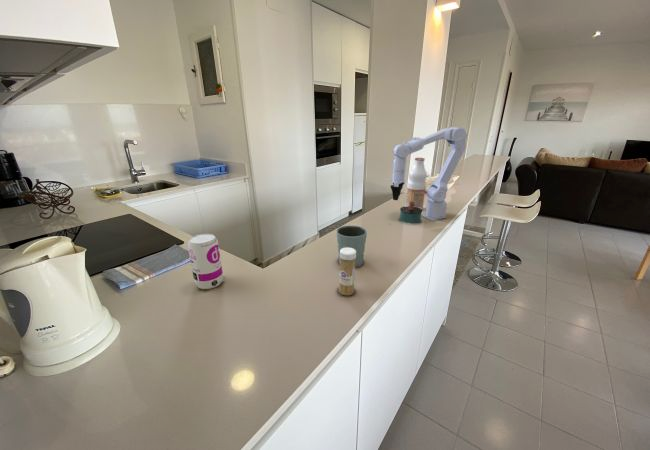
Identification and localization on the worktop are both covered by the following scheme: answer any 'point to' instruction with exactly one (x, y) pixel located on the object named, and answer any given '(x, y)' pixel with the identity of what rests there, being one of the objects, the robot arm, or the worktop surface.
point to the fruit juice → (416, 184)
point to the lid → (411, 209)
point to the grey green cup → (352, 241)
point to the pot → (410, 217)
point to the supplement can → (205, 261)
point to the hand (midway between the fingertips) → (396, 198)
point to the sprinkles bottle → (347, 271)
